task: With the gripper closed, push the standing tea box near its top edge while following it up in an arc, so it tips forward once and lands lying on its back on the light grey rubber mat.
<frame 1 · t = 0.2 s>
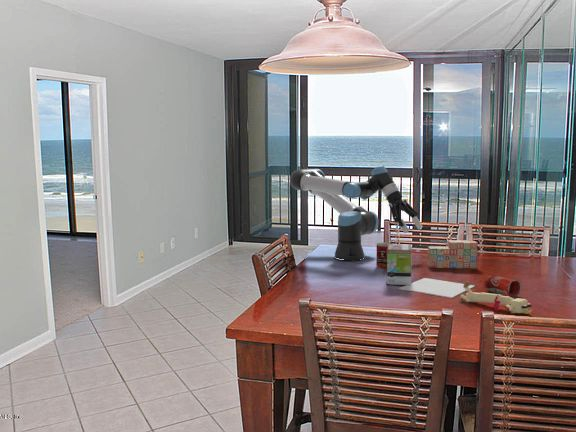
hand: (414, 230, 272), 16 cm above the table, tool tilted 35°, fingers open, 13 cm apart
canned food: (384, 267, 263), on the table
cat figure: (495, 308, 194), on the table
tea box: (399, 281, 233), on the table, touching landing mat
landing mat: (437, 287, 222), on the table
beverage can: (500, 295, 212), on the table
stack of blocks: (451, 267, 261), on the table
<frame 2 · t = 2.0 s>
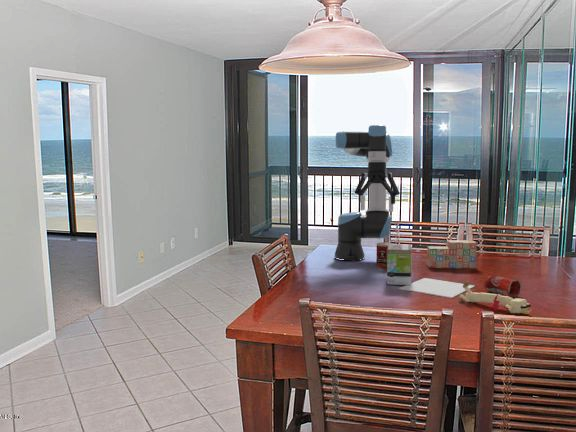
hand: (376, 211, 240), 29 cm above the table, tool pointing down, fingers open, 13 cm apart
nothing on the table moved.
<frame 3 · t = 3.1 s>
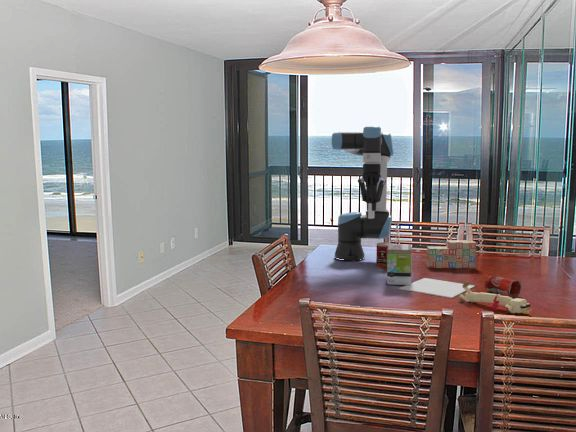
hand: (371, 218, 239), 26 cm above the table, tool pointing down, fingers closed
nothing on the table moved.
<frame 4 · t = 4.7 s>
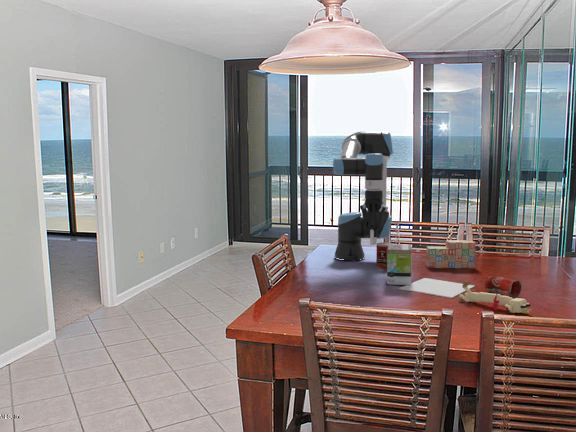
hand: (373, 244, 239), 15 cm above the table, tool pointing down, fingers closed
nothing on the table moved.
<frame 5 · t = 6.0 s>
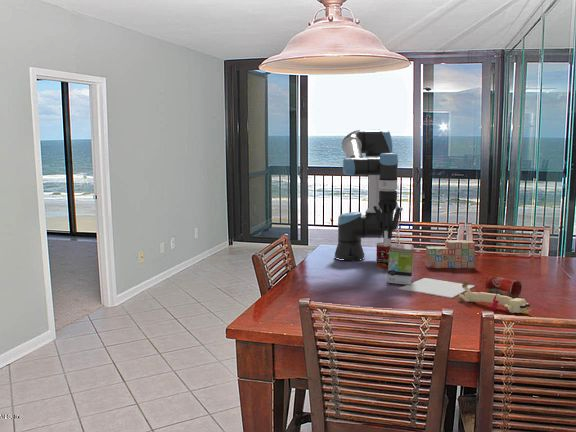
hand: (387, 245, 235), 15 cm above the table, tool pointing down, fingers closed
tea box: (399, 280, 233), on the table, touching gripper, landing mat
everything else where it was.
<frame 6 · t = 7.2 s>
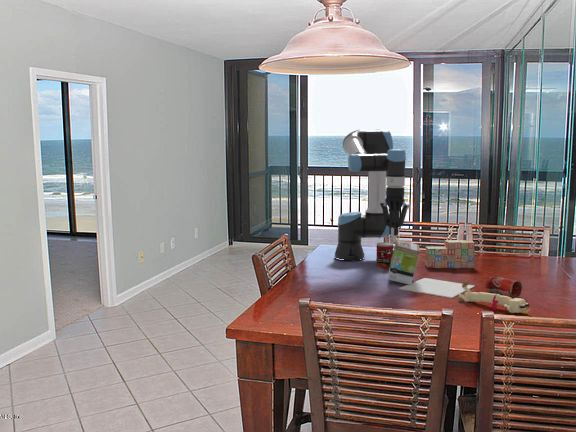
hand: (393, 242, 233), 16 cm above the table, tool pointing down, fingers closed
tea box: (399, 278, 233), point 1 cm above the table, touching gripper, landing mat
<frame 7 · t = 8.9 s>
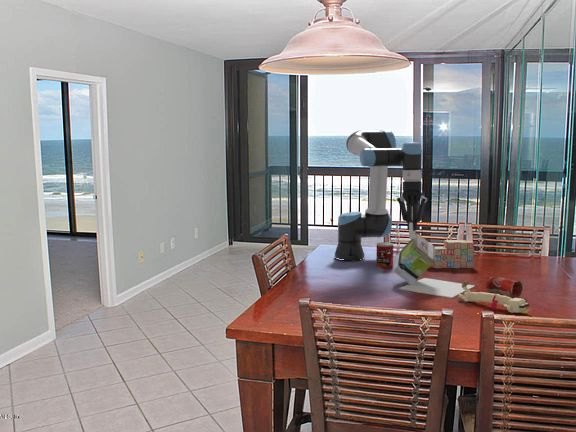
hand: (412, 238, 227), 19 cm above the table, tool pointing down, fingers closed
tea box: (402, 271, 232), point 5 cm above the table, touching gripper, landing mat
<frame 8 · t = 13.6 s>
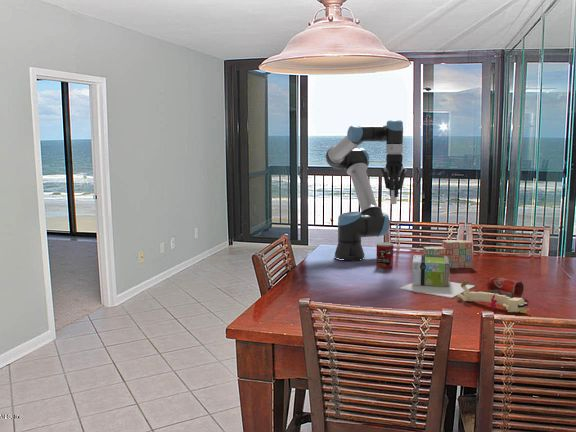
hand: (393, 203, 263), 29 cm above the table, tool pointing down, fingers closed
tea box: (411, 269, 231), point 5 cm above the table, touching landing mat
at the end: tea box tilted 89°; tea box inside the target area (4.6 cm from its centre), point 5.3 cm above the table; tea box touching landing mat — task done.
